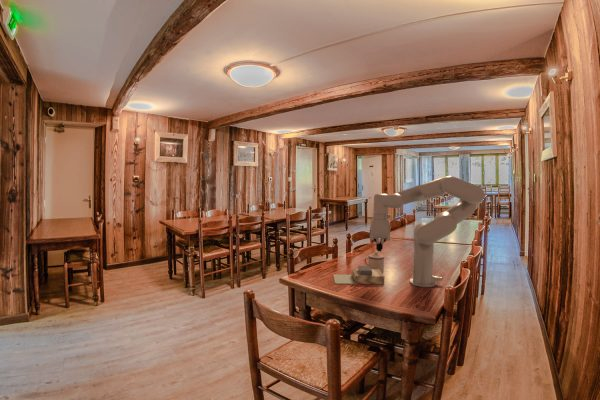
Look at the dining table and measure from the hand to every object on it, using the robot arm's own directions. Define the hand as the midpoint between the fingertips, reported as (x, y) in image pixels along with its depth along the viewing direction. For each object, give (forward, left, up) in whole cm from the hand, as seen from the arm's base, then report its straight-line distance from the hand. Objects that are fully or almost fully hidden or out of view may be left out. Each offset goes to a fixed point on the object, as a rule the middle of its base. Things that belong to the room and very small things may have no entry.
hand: (379, 250), depth 168 cm
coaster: (+8, 0, -12) cm, 14 cm away
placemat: (+19, 0, -16) cm, 25 cm away
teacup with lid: (0, -17, -16) cm, 23 cm away
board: (+6, 0, -16) cm, 17 cm away
